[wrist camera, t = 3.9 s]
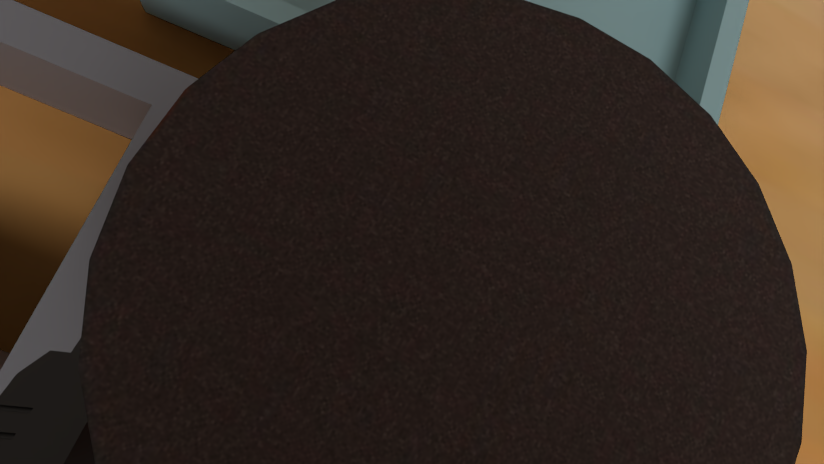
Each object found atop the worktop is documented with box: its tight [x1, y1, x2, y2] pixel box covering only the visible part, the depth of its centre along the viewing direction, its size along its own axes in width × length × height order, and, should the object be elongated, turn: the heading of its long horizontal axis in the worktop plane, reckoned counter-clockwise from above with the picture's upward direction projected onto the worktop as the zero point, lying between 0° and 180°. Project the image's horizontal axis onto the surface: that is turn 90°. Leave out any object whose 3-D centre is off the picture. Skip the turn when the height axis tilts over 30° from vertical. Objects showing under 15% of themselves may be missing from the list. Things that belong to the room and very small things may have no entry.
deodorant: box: [78, 0, 807, 464], centre depth 12 cm, size 6×6×15 cm
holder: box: [0, 0, 198, 395], centre depth 17 cm, size 21×10×4 cm, turn 69°
